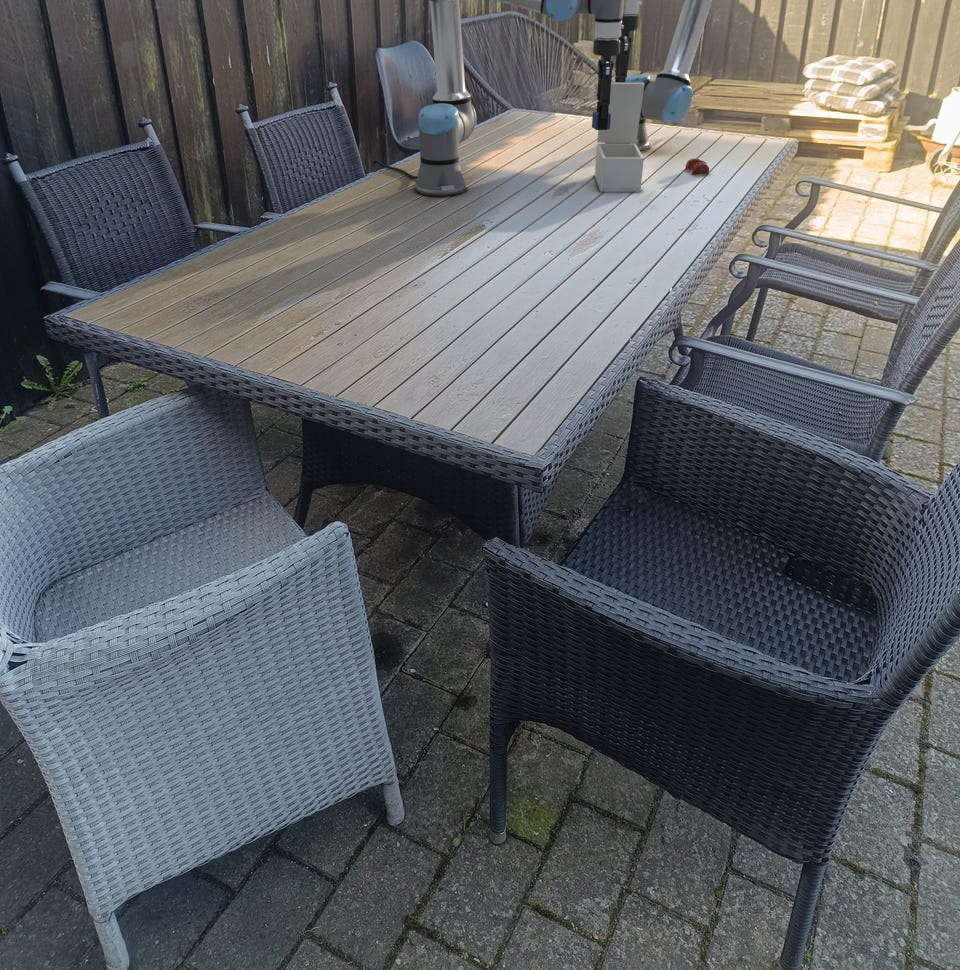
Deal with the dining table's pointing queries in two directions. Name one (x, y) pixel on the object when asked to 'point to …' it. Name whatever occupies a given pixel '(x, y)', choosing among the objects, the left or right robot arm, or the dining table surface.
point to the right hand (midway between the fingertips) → (618, 100)
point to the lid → (623, 113)
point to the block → (595, 120)
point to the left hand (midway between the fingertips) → (601, 127)
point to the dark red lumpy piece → (697, 166)
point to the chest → (618, 167)
